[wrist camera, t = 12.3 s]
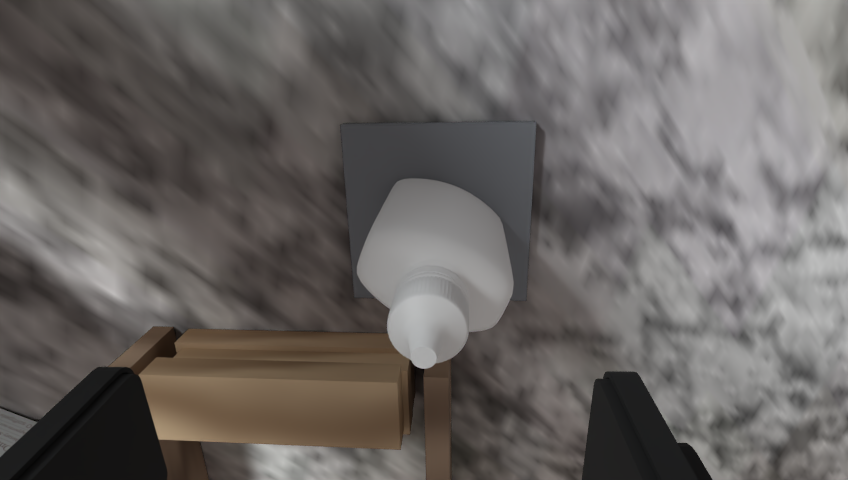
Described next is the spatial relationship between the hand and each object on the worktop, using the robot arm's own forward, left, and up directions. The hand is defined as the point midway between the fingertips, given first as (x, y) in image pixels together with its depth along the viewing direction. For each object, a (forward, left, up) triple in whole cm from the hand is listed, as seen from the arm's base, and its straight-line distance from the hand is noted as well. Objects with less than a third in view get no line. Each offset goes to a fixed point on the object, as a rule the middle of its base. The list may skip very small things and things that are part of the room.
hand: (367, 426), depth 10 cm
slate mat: (0, +1, -16) cm, 16 cm away
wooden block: (+9, -7, -16) cm, 20 cm away
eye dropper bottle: (0, +1, -15) cm, 15 cm away
